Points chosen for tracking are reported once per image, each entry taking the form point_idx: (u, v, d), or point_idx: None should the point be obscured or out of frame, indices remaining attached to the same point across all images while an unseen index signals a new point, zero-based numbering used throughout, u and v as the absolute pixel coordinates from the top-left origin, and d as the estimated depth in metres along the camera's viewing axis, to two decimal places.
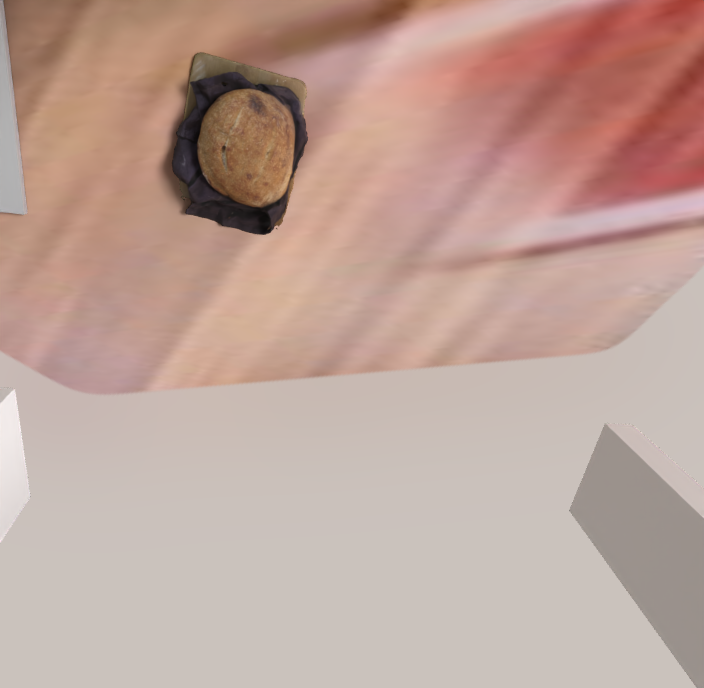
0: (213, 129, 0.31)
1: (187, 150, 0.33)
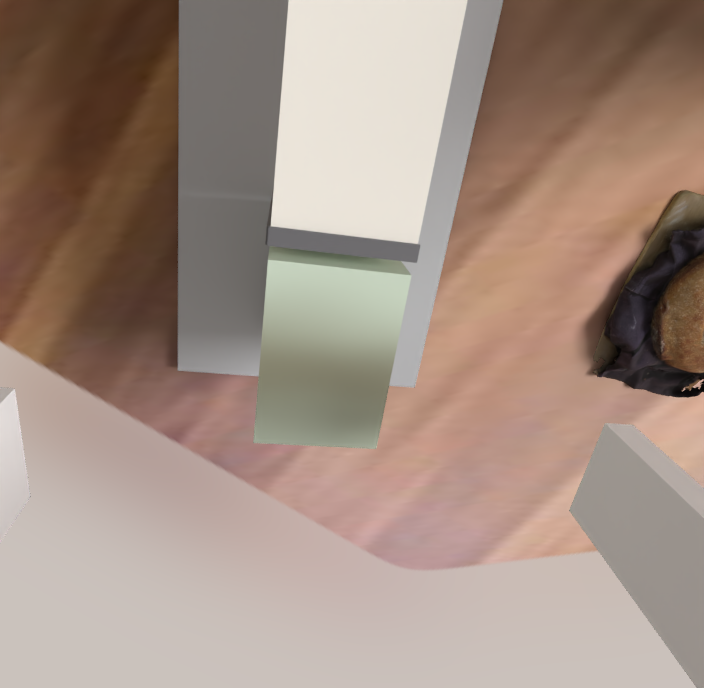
0: (703, 293, 0.24)
1: (640, 310, 0.25)
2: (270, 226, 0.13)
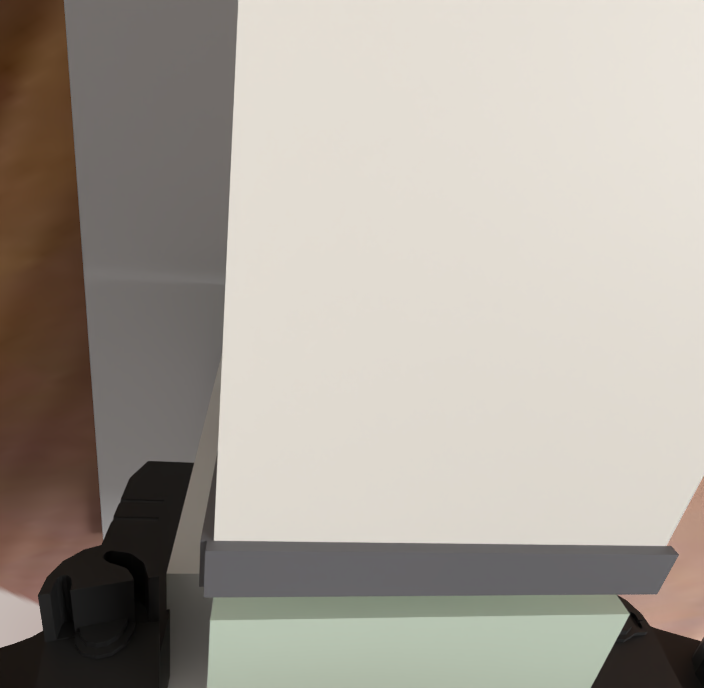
0: None
1: None
2: (212, 543, 0.04)
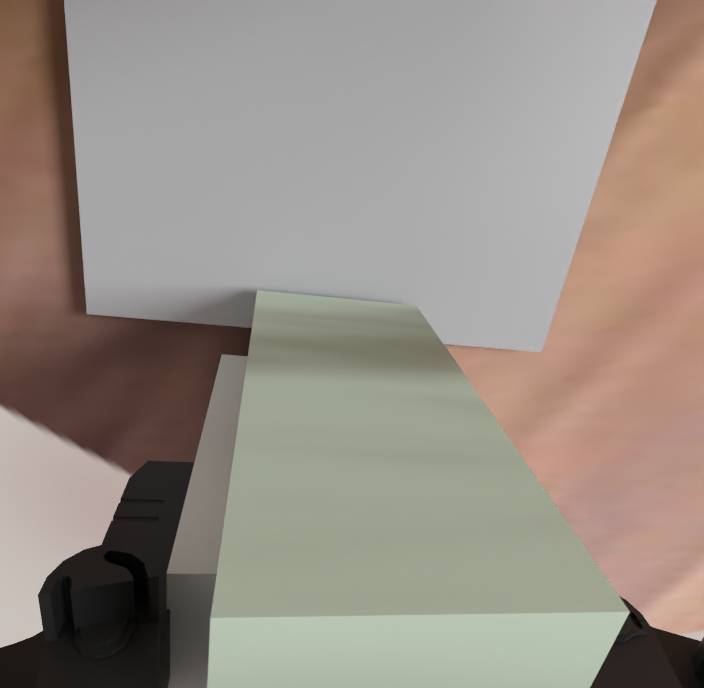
0: None
1: None
2: None
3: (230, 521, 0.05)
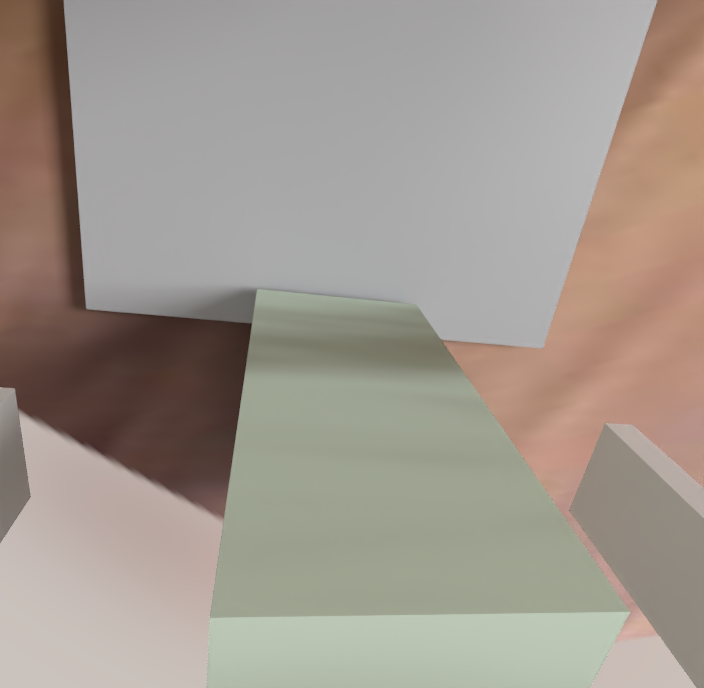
0: None
1: None
2: None
3: (230, 521, 0.05)
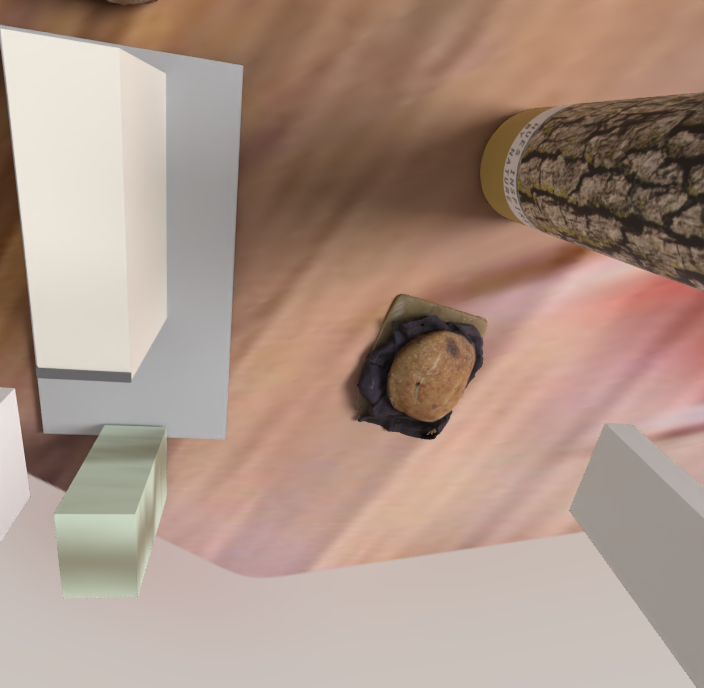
0: (410, 366, 0.34)
1: (376, 375, 0.35)
2: (37, 367, 0.23)
3: (63, 499, 0.27)
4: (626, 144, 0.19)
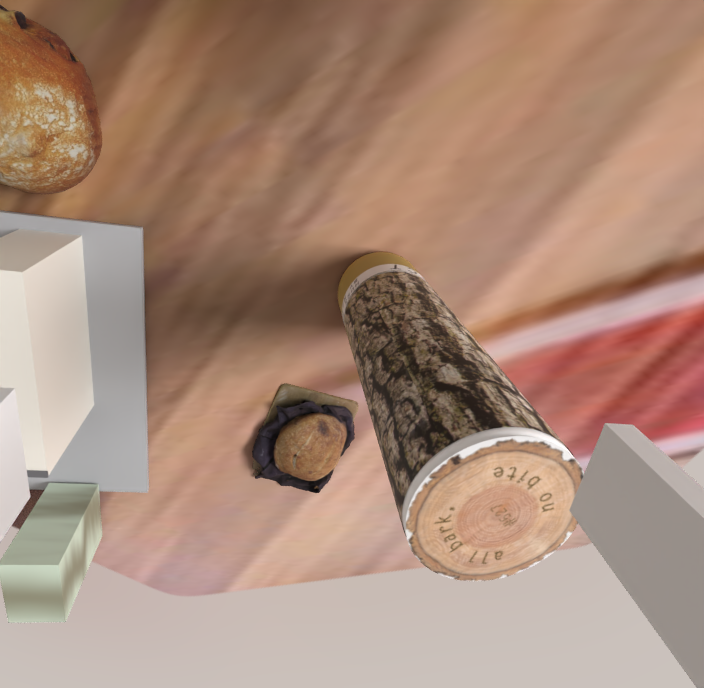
0: (289, 442, 0.43)
1: (265, 445, 0.44)
2: None
3: (6, 552, 0.36)
4: (368, 344, 0.27)
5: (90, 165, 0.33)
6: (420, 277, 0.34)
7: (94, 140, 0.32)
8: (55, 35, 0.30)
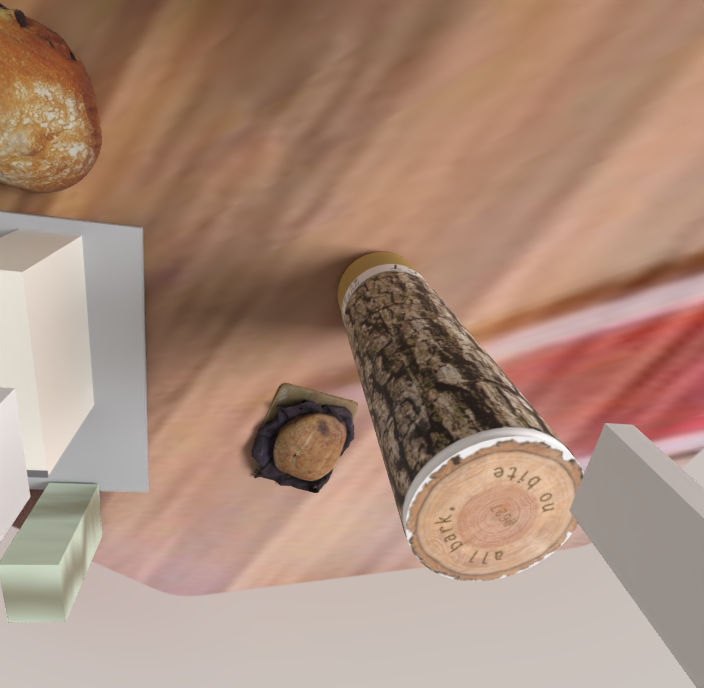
0: (288, 441, 0.43)
1: (265, 445, 0.44)
2: None
3: (6, 552, 0.36)
4: (368, 345, 0.27)
5: (90, 164, 0.32)
6: (420, 277, 0.35)
7: (94, 139, 0.32)
8: (55, 33, 0.30)
